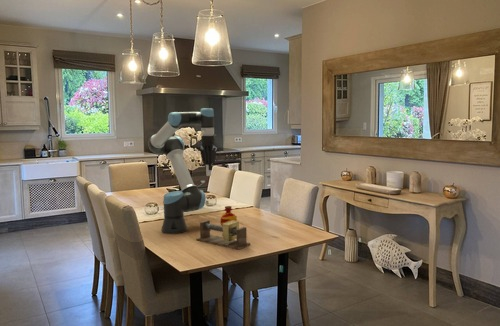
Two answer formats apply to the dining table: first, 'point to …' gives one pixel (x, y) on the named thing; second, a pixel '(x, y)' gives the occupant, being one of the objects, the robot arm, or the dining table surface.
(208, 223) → the pipe rig
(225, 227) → the collar
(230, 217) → the potion bottle
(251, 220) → the dining table surface
